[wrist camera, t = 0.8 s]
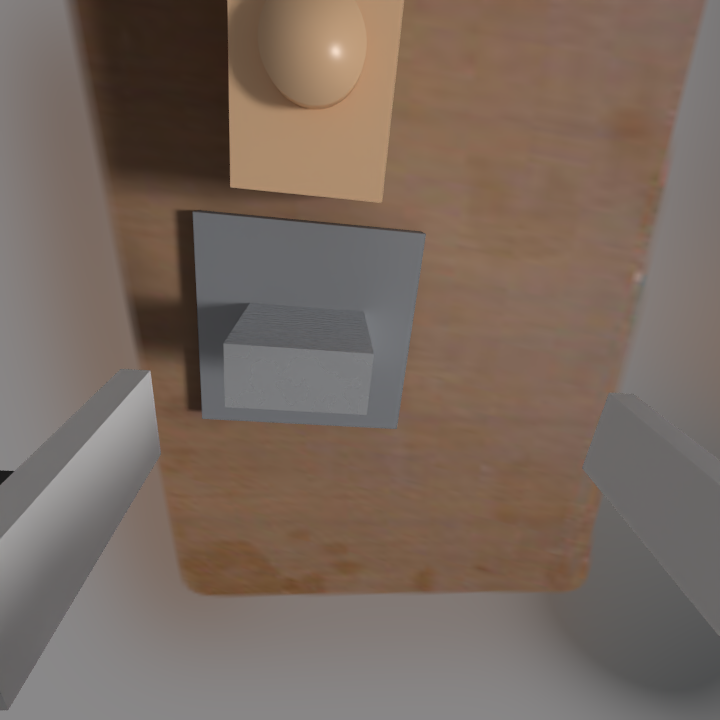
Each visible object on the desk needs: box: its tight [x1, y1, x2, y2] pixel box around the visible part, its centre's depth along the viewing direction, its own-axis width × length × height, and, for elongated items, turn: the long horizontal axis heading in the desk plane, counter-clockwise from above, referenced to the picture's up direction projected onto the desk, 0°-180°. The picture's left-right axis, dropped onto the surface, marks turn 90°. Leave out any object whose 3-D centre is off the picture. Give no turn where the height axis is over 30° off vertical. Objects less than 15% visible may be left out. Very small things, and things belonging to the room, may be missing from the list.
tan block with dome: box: [227, 0, 404, 203], centre depth 23 cm, size 12×7×12 cm, turn 174°
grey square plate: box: [193, 210, 426, 429], centre depth 30 cm, size 16×16×10 cm
